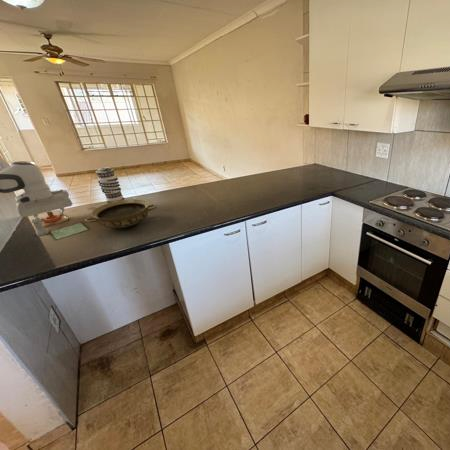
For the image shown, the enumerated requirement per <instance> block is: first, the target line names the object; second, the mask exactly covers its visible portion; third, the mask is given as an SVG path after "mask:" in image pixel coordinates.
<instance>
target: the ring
mask: <svg viewBox="0 0 450 450" xmlns="http://www.w3.org/2000/svg"><path fill="white" fill-rule="evenodd" d="M53 215H54V217H55V218H53V219H50V218H49V216H48V215H47V216H45V217H44V218H43V219H44V222H47V223H48V222H54V221H57V220H60V219H61V218H62V217H61V215H60V214H53Z"/></svg>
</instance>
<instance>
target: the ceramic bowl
mask: <svg viewBox="0 0 450 450" xmlns="http://www.w3.org/2000/svg"><path fill="white" fill-rule="evenodd" d="M156 208H157V205H156V204H150V203H149V201H147V200H145V199H139V198H135V199H134V198H131V199H124V200H120V201H115V202H111V203H108V204H107V203H105V204H102V205H100V206H98V207H96V208H95V209H94V210H92V211H91V213H90V215H91V217H88V218H85V219H84V222H85V223H97V224H99V225H100V226H101V227H103V228H111V229H128V228H131V227H134V226H135V225H136V224H138V223H140V222H142V221H144V220H145V219H146V218H147V216H148V215H149V212H150V211H153V210H154V209H155V210H156Z"/></svg>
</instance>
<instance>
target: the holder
mask: <svg viewBox="0 0 450 450" xmlns="http://www.w3.org/2000/svg"><path fill="white" fill-rule="evenodd" d="M46 214H47V216H49V218H50V219H53V218H55V217H54V215H55V214H54V213H53V211H49V212H46ZM68 221H69V218H68V217H67V216H65V215H64V216H63V217H62V218H61V219H60V220H57V221H54V222H48V223H47V222H41V224H42V226H43V227H44V228H47V227H50V226H53V225H57V224H58V225H59V224H61V223H65V222H68Z"/></svg>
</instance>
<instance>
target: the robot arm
mask: <svg viewBox="0 0 450 450" xmlns="http://www.w3.org/2000/svg"><path fill="white" fill-rule="evenodd" d="M0 167H1V168H0V170H1V171H0V194H11V193H14V192H17V191H20V190H23V193H20V194H18V195H16V196H15V197H14V201H15V202H16V203H15V208H16V211H17V212H18V215H19V216H20V217H21V218H22V219H23V218H29V217H32V216H33V217H34V219H35V218H39V219H40V220H41V221H40V222H44V218H43V217H39V215H41V214H46V213H47V212H49V211H52V212H53V211H57V210H60V212H59V213H58V215H61V217H63V216H65V208H69V207H72V206H73V204H74V203H73V201H72V200H71V198H70V194H69V191H67V190H65V189H59V190H53V191H52V190H51V188H50V186H49V184H47V182H46V178H45V176H44V174H43V172H42V171H41V168H39V166H38V165H37V164H36V163H35V162H32V161H14V162H12V163H11V164H10V163H9V162H7V161H6V160H5V159H4V158H3V157H2V156H1V155H0Z"/></svg>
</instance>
